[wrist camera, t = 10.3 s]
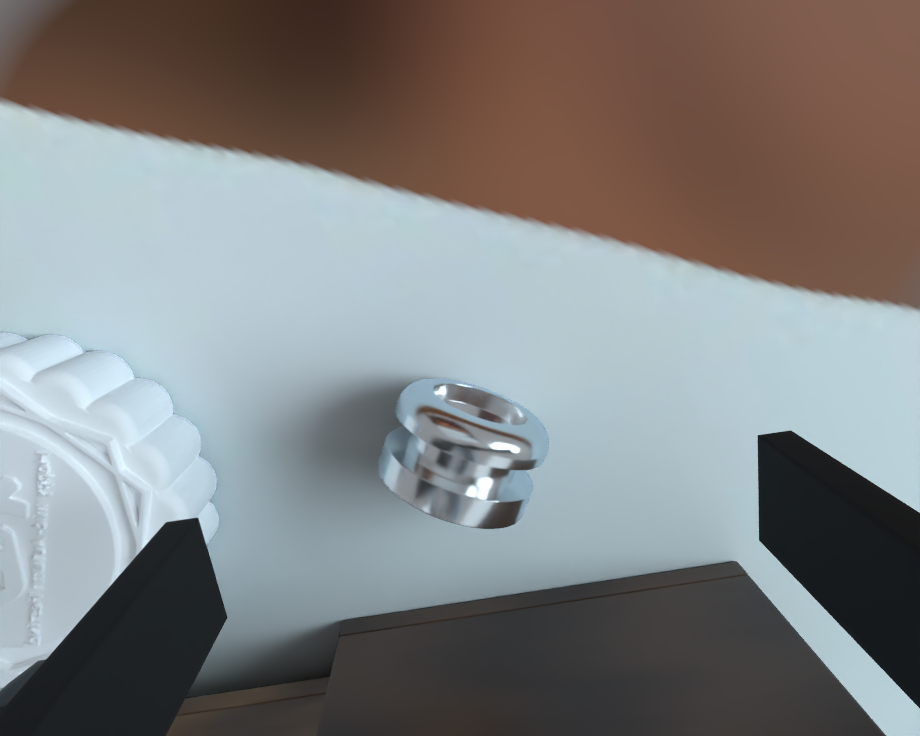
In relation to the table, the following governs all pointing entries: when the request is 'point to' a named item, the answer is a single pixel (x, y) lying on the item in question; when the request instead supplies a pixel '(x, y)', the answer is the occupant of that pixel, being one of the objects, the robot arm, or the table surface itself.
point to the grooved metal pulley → (463, 453)
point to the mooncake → (82, 485)
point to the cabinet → (591, 666)
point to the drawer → (255, 711)
